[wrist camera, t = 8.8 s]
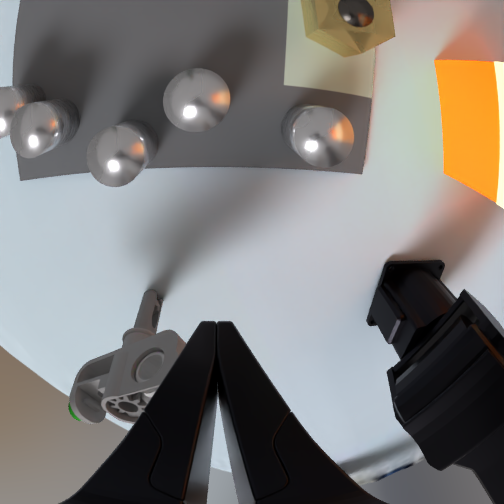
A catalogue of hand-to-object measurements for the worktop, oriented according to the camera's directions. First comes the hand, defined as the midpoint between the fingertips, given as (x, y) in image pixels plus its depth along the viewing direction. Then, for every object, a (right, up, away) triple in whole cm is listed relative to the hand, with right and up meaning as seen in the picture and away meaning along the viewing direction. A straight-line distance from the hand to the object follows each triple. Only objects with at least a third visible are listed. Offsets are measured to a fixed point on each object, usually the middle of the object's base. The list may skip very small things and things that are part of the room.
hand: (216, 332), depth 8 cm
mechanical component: (-7, -1, +14) cm, 16 cm away
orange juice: (+18, +13, +9) cm, 24 cm away
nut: (+6, +16, +5) cm, 17 cm away
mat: (-3, +15, +5) cm, 16 cm away
